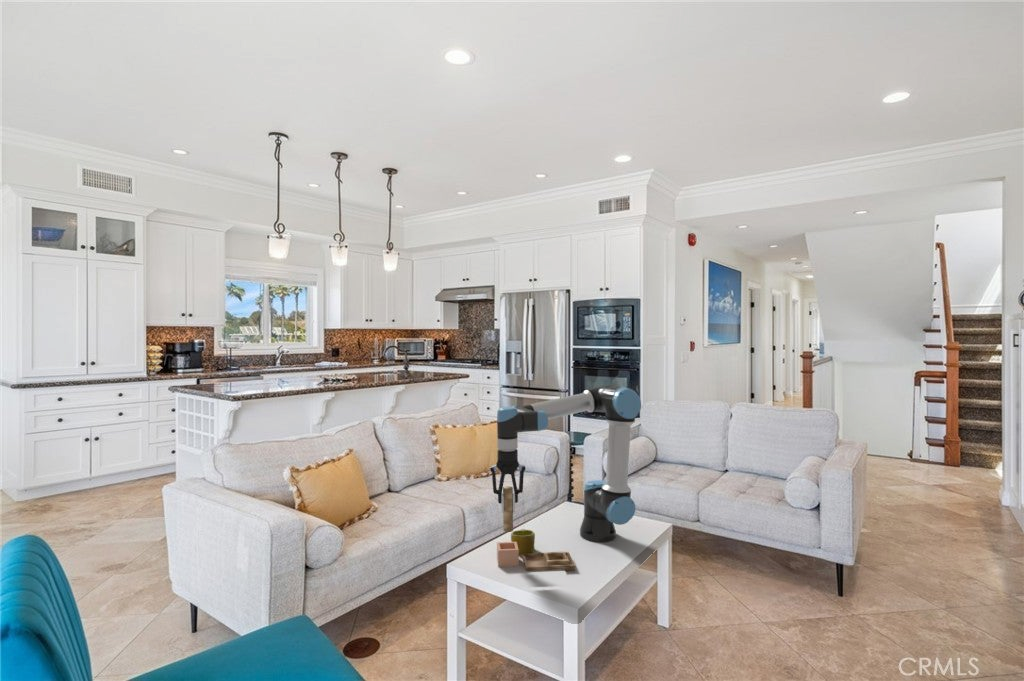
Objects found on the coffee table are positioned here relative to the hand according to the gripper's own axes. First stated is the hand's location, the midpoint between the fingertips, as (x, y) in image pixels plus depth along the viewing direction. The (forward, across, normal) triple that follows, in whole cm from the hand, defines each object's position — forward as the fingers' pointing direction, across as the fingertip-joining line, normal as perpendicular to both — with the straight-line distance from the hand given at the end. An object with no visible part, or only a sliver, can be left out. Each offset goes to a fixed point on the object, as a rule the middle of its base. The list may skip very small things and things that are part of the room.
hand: (508, 511), depth 201 cm
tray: (+20, -15, +2) cm, 25 cm away
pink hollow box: (+20, 0, 0) cm, 20 cm away
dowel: (+7, 0, 0) cm, 7 cm away
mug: (+20, -7, -12) cm, 24 cm away
